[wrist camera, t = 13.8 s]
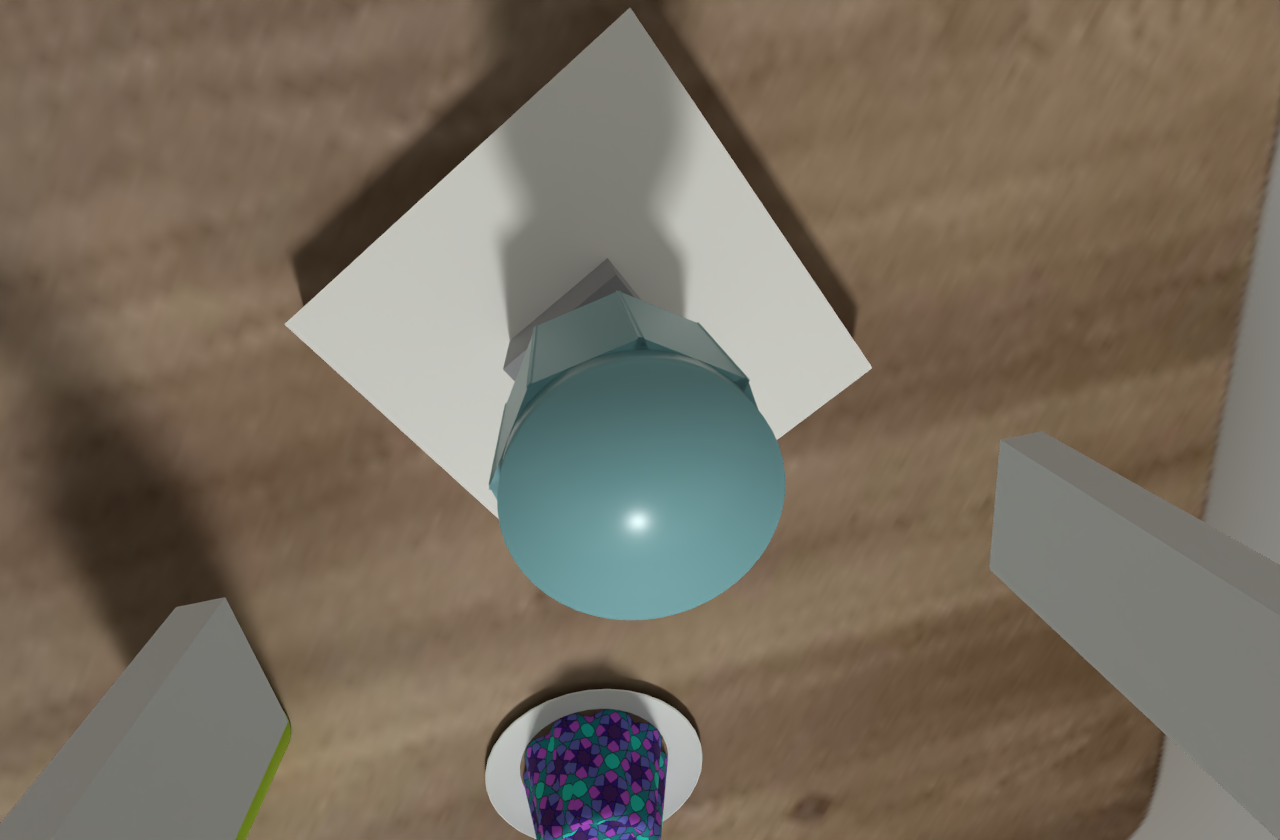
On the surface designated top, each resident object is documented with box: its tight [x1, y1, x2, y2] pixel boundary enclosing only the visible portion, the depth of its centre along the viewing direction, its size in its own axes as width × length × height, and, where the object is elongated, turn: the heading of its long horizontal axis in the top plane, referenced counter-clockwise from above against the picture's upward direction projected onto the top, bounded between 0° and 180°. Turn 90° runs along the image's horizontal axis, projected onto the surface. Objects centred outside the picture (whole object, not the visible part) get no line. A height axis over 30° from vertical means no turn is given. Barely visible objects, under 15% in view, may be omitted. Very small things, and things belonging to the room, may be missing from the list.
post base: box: [285, 8, 872, 519], centre depth 24 cm, size 16×16×6 cm
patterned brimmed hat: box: [485, 689, 703, 840], centre depth 34 cm, size 12×12×5 cm
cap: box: [488, 290, 785, 620], centre depth 16 cm, size 6×6×6 cm
